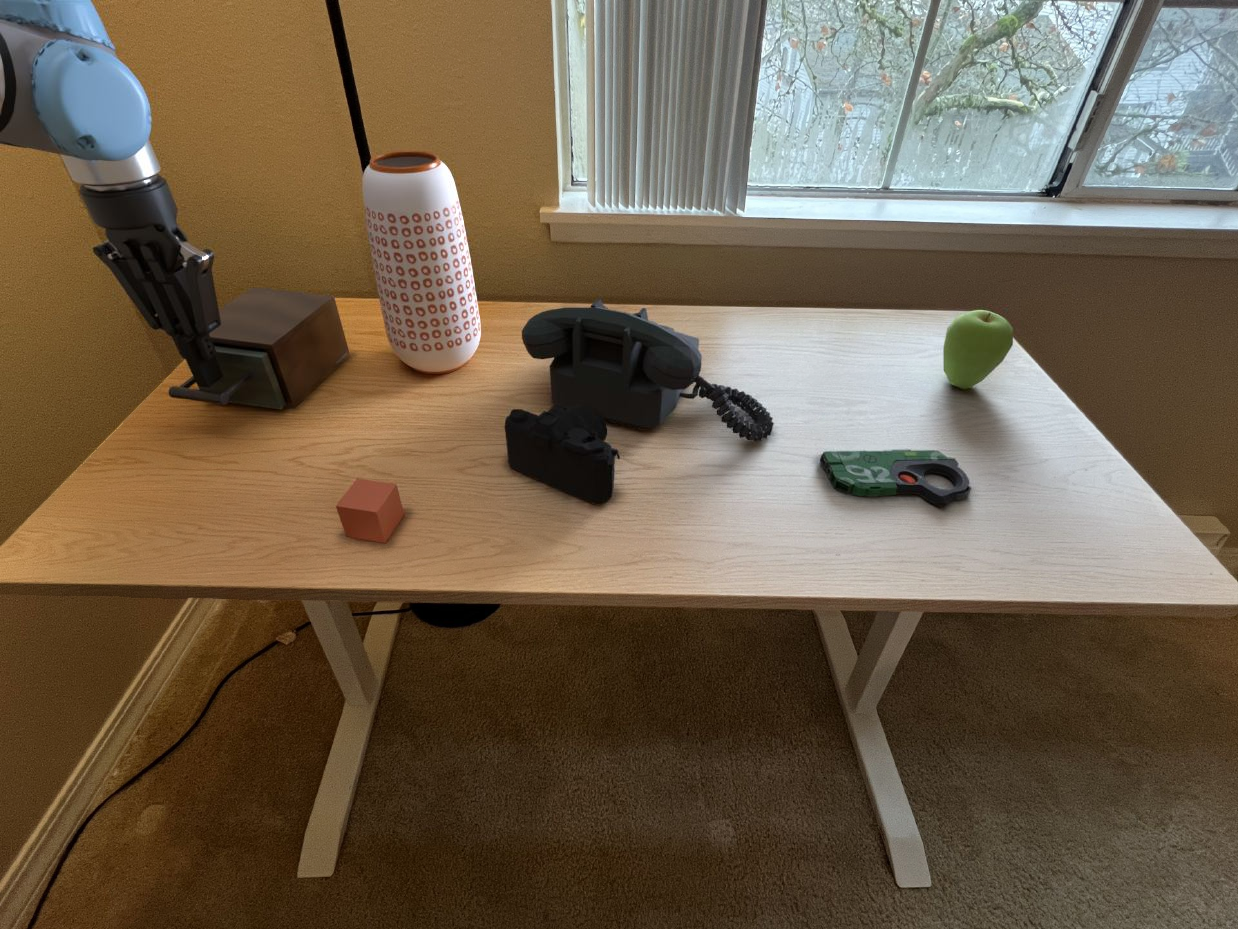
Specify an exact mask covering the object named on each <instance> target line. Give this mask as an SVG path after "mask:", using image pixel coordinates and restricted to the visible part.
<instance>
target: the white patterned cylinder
mask: <svg viewBox="0 0 1238 929" xmlns="http://www.w3.org/2000/svg"><path fill="white" fill-rule="evenodd" d="M361 181H362V182H361V185H362V187H361V188H362V201H363V208H364V214H365V215H364V217H365V224H366V232H367V238H368V243H369V249H370V255H371V261H372V267H373V273H374V280H375V284H376V289H377V294H378V299H379V305H380V308H381V309H380V310H381V314H382V318H383V319H382V320H383V324H384V329H385V335H386V338H387V342H388V343H389V345H390V347H391V349H392V351H393V352H394V354H395V355H396V356H397V357H398V358H399V359H400V360H401V361H402V362H403V363H404V364H406V365H407V366H409V367H411V368H412V369H413V370H415V371H416V372H418V373H421V374H427V375H443V374H449V373H452V372H455V371H458V370H459V369H461V368H463V367H464V366H465V365H466V364H467V363H469V360H470V359H471V358H472V357H473V356H474V354H475V353H476V351H477V349H478V347H479V345H480V341H481V334H482V327H481V326H482V325H481V317H480V310H479V304H478V296H477V291H476V285H475V278H474V272H473V266H472V260H471V254H470V249H469V248H470V247H469V243H468V238H467V232H466V228H465V223H464V222H465V221H464V217H463V212H462V208H461V203H460V199H459V195H458V194H459V193H458V189H457V186H456V183H455V179H454V177H453V174H452V172H451V170H450V169H449V167H448V166H447V165H446V163H444V162H443V161H442V160H440V158H439V156H438V155H437V154H435V153H432V152H429V151H425V150H424V151H423V150H394V151H387V152H383V153H379V154H377V155H374V156H373V157H371V158H370V160H369V164H368V165H367V166H366V168H365V169H364V171H363V174H362V180H361Z"/></svg>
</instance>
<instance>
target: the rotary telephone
mask: <svg viewBox="0 0 1238 929" xmlns="http://www.w3.org/2000/svg"><path fill="white" fill-rule="evenodd" d="M523 326H524V327H523V328H522V329H521V340H522V343H523V345H524V347H525V349H526V352H527V354H528V355H529V356H530V357H531V358H532V359H536V360H547V359H552V361H551V363H550V365H549V381H550V382H549V384H550V385H549V386H550V399H551V400H550V401H551V403H552V404H554V405H555V406H556V407H559V408H562V409H564V410H567V409H568V408H570V407H573V406H575V405H576V404H586V405H589V406H591V407H593V408H595V409H596V410H597V411H598V412H599V413H600V414H601V415H602V417H603V419H604V420H605V422H609V423H613V424H617V425H621V426H626V427H630V428H634V429H637V430H641V431H643V430H648V431H649V430H652V429H655V428H657V427H658V426H660V425H661V424H663V422H664V421H665V420H666V419H667V418H668V417H669V416H670V415H671V414H672V412H674V411H675V409H676V408H677V405H678V403H679V401H680V400H681V398H684V399H690V400H694V399H695V398H697V397H699V398H701V399H705V398H706V399H707V400H709V401H711V402H712V404H711V407H712V408H713V409H715V410H716V412H715V414H716V416H718V417H720V422H721V423H723V424H726V428H727V429H731V431H732V434H738V436H739V438H740V439H743V438H745V439H746V441H748V442H749V441H754V442H762V440H768V436H771V435H772V431H773V427H774V425H775V422H773V419H774V418H773V417H772V416H770V415H771V412H769V411H768V410H767V408H766V407H764V406H763V403H760V402H759V401H758V399H756V398H754V397H753V396H752V395H751V394H749V393H748V394H746V392H745V391H739V389H738V388H732V387H731V386H725V385H723V384H717V383H711V382H708V380H706V379H704V377H702V376H701V375H700V373H701V372H702V371H701V370H702V362H703V361H702V360H703V358H702V357H703V355H702V354H701V352H700V350H699V345H700V339H699V338H698V337H695V336H692V335H689V334H686V333H682V332H680V331H676V330H675V329H674V327H670V326H666V325H663V324H658V322H655V321H652V320H649V315H648V311H647V308H645V307H642V308H640V310H639V312H635V313H630V312H626V311H621V310H617V309H616V310H615V309H611V308H609V307H606V306H605V305H604V303H603V301H602V300H601V299H598V298H596V300H594V302H592V304H591V305H590V306H589V307H561V308H553V309H547V310H544V311H541V312H539V313H537V314H535V315H533V316H532V317H530V318H529V319H528V320H527V321H526V323H525V325H523ZM694 383H695V384H694ZM693 384H694V386H693V388H692V392H691V393H688V392H684V390H686V389H688V387H690V386H691V385H693ZM736 407H738V408H739V409H740V410H741V411H743V412H744V413H745V414H747V415H748V417H750V418H751V421H753V422H750V419H746V418H745V415H740V411H737V410H736Z"/></svg>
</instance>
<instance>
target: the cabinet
mask: <svg viewBox="0 0 1238 929" xmlns="http://www.w3.org/2000/svg"><path fill="white" fill-rule="evenodd" d="M218 309H219V315H220V320H221V325H220V326H219V327H218V328H216V329H215V330H213V331H212V332H210V333H209V335H210V338H211V340H212V342H213V343H220V344H228V345H236V346H244V347H252V348H259V349H267V350H269V353H270V356H271V359H272V361H273V364H274V367H275V370H276V372H277V375H278V378H279V381H280V383H281V386H282V389H283V392H284V394H285V396H283V398H284V400H285V403H286V405H285V406H284V407H283V408H287V409H296V408H297V407H298V406H299V405H300V404H301V403H302V402H304V400H305V399H306V398H308V397H309V396H310V395H311V394H312V393H313V392H314V391H315V390H316V388H317V389H318V387H319V386H320V385H321V384H322V383H323V382H324V381H326V379H327V378H328V377H329V376H331V375H332V374H333V372H335V371H336V370H337V369H338V368H339V367H340V366H341V365H342V364H343V363H344V362H345V361H346V360H347V359H348V358H350V356H351V353H350V349H349V346H348V342H347V340H346V339H347V338H346V335H345V332H344V328H343V324H342V321H341V317H340V313H339V309H338V306H337V302H336V297H335V295H327V294H321V293H320V294H319V293H311V292H302V291H293V290H286V289H285V290H284V289H275V288H267V287H258V286H253V287H251V288H250V289H248V290H246V291H245V292H244V293H242V294H241V295H239V296H237V297H236V298H234V299H233V300H231V301H230V302H228V303H227V304H225V305H223V306H222V307H221V308H218Z"/></svg>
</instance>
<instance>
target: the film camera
mask: <svg viewBox="0 0 1238 929" xmlns="http://www.w3.org/2000/svg"><path fill="white" fill-rule="evenodd" d="M503 429H504V433H505V443H506V451H507V463H508V465H509V467H510V468H511V469H513V470H515V471H516V472H519V473H521V474H523V475H525V476H527V477H529V478H532V479H534V480H536V481H538V482H541V483H542V484H545V485H547V486H549V487H551V488H553V489H556V490H558V491H561V492H562V493H565V494H567V495H569V496H571V497H574V498H576V499H580V500H582V501H584V502H587V503H590V504H592V505H603V504H606V503H607V502H609V501H610V500H611V499H612V497H613V492H614V491H613V490H614V485H615V467H616V466H615V464H616V458H617V459H618V460H620V459H621V458H620V454H619V450H618V449H616V448H612V445H611V444H610V443H608V442H605V441H606V440H607V437H608V425H607V421H605V420H604V419H603V417H602V415H601V414H600V413H599V412H598V411H597V410H596V409H595V408H593V407H591V406H589V405H586V404H576V405H575V406H573V407H570V408H568V409H567V410H564V409H562V408H561V407H559V406H557V405H553V406H551V407H550V408H549V409H548V410H547V411H546V410H544V411H542V412H541V413H540V414H539V415H538V414H535V413H532V412H530V411H528V410H524V409H522V408H514V409H512V410H511V411H510V413H509V415H507V416H506V417H505V420H504V426H503Z"/></svg>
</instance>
